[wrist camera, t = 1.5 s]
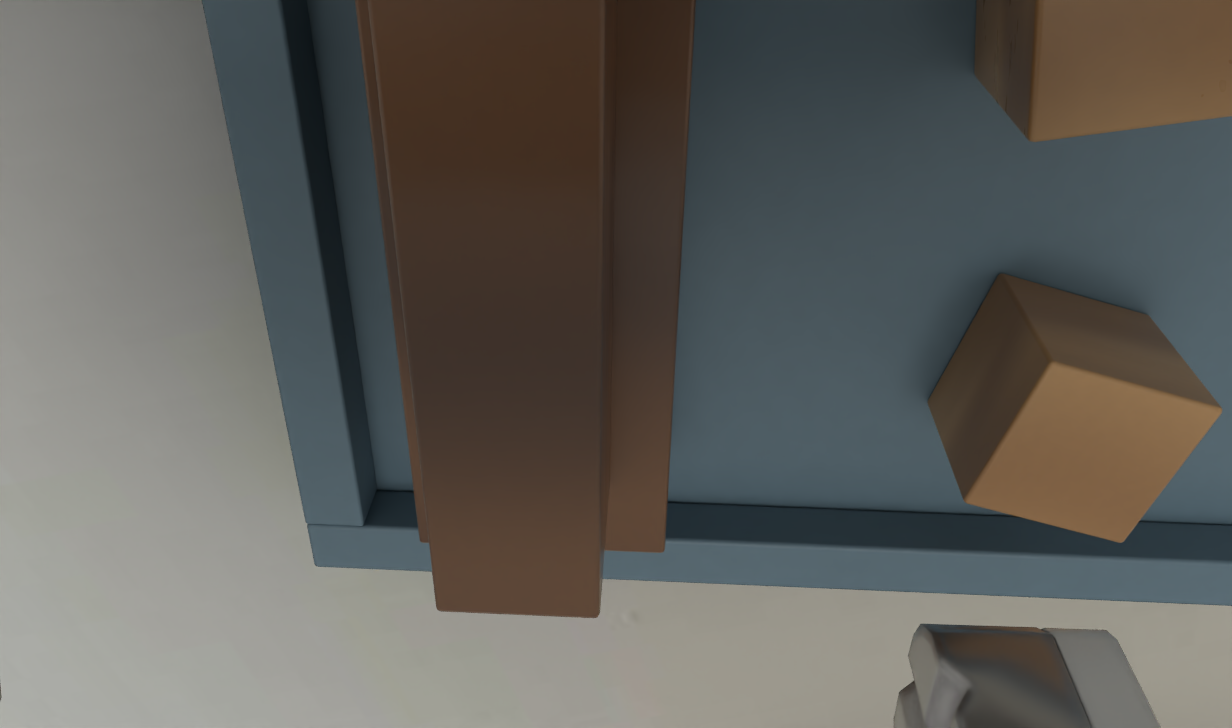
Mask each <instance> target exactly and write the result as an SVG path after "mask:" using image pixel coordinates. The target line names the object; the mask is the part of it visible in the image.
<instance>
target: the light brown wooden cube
mask: <svg viewBox="0 0 1232 728" xmlns="http://www.w3.org/2000/svg"><path fill="white" fill-rule="evenodd" d="M974 74H975V76H976V78H977V79H978V80H979V81H980V83H981V84H982V85H983V86H984V88H985V89H986V90H987V91H988V92H989V94H990V95H991V96H992V97H993V98H994V100H995V101H996V102H997V103H998V104H999V106H1000V107H1001V108H1002V109H1003V111H1004V112H1005V113H1006V114H1007V115H1008V117H1009V118H1010V119H1011V120H1012V121H1013V123H1014V124H1015V125H1016V126H1017V128H1018V129H1019V130H1020V131H1021V132H1022V134H1023V135H1024V136H1025V137H1026V138H1027V140H1028V141H1031V142H1039V141H1046V140H1054V139H1062V138H1069V137H1077V136H1085V135H1092V134H1100V133H1107V132H1115V131H1123V130H1130V129H1138V128H1146V127H1153V126H1161V125H1168V124H1176V123H1184V122H1191V121H1199V120H1207V119H1214V118H1222V117H1229V116H1232V0H977V2H976V36H975V70H974Z"/></svg>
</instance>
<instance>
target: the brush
mask: <svg viewBox="0 0 1232 728" xmlns="http://www.w3.org/2000/svg"><path fill="white" fill-rule="evenodd" d="M355 6H356V15H357V23H358V31H359V40H360V48H361V56H362V65H363V73H364V81H365V90H366V98H367V106H368V115H369V123H370V131H371V140H372V148H373V156H374V165H375V173H376V181H377V190H378V198H379V206H380V215H381V223H382V231H383V240H384V248H385V257H386V265H387V273H388V282H389V290H390V298H391V307H392V315H393V323H394V332H395V340H396V348H397V357H398V365H399V373H400V382H401V390H402V398H403V407H404V415H405V423H406V432H407V440H408V448H409V457H410V465H411V473H412V482H413V490H414V498H415V507H416V515H417V523H418V532H419V539H420V542H422V543H429V548H430V557H431V566H432V575H433V584H434V592H435V601H436V607H437V610H439V611H445V612H467V613H490V614H513V615H536V616H559V617H581V618H596V617H598V615H599V613H600V605H601V592H602V579H603V565H604V552H605V551H623V552H647V553H663V552H664V550H665V539H666V522H667V504H668V486H669V469H670V451H671V433H672V416H673V398H674V380H675V363H676V345H677V327H678V310H679V292H680V274H681V257H682V239H683V221H684V203H685V186H686V168H687V150H688V133H689V115H690V97H691V80H692V62H693V44H694V27H695V9H696V0H355Z"/></svg>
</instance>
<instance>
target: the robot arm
mask: <svg viewBox="0 0 1232 728" xmlns="http://www.w3.org/2000/svg"><path fill="white" fill-rule="evenodd" d="M908 657H909V661H910V665H911V669H912V673H913V678H914V681H913V682H912V683H910V684H909V685H908V686H906V687H905V688H904V689H902V690H901V691H900V692H899V696H898V701H897V706H896V711H895V716H894V728H1161V726H1160V724H1159V722H1158V720H1157V718H1156V716H1155V714H1154V712H1153V710H1152V708H1151V706H1150V704H1149V702H1148V700H1147V698H1146V696H1145V694H1144V692H1143V690H1142V688H1141V686H1140V684H1139V682H1138V680H1137V678H1136V676H1135V674H1134V672H1133V670H1132V668H1131V666H1130V664H1129V662H1128V660H1127V658H1126V656H1125V654H1124V652H1123V650H1122V648H1121V646H1120V644H1119V642H1118V640H1117V639H1116V638H1114V637H1113V636H1112V635H1111V634H1110V633H1109V632H1108V631H1107V630H1087V629H1058V628H1043V629H1038V628H1035V627H1003V626H972V625H940V624H920V626H919V627H918V629H917V630H916V632H915V633H914V635H913V639H912V643H911V646H910V650H909V654H908ZM0 700H1V685H0Z"/></svg>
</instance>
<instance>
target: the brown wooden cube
mask: <svg viewBox="0 0 1232 728" xmlns="http://www.w3.org/2000/svg"><path fill="white" fill-rule="evenodd" d="M928 406H929V409H930V412H931V415H932V417H933V420H934V423H935V425H936V428H937V431H938V433H939V436H940V439H941V442H942V444H943V447H944V450H945V452H946V455H947V458H948V460H949V463H950V466H951V469H952V471H953V474H954V477H955V479H956V482H957V485H958V487H959V490H960V493H961V496H962V498H963V501H964V502H965V503H967V504H970V505H974V506H978V507H982V508H986V509H990V510H994V511H998V512H1002V513H1005V514H1009V515H1013V516H1017V517H1021V518H1025V519H1029V520H1033V521H1037V522H1040V523H1044V524H1048V525H1052V526H1056V527H1060V528H1064V529H1068V530H1072V531H1075V532H1079V533H1083V534H1087V535H1091V536H1095V537H1099V538H1103V539H1107V540H1110V541H1114V542H1118V543H1122V542H1124V541H1125V539H1126V538H1127V537H1128V535H1129V534H1130V533H1131V532H1132V530H1133V529H1134V528H1135V526H1136V525H1137V524H1138V522H1139V521H1140V520H1141V518H1142V517H1143V516H1144V514H1145V513H1146V512H1147V511H1148V509H1149V508H1150V507H1151V505H1152V504H1153V503H1154V501H1155V500H1156V499H1157V497H1158V496H1159V495H1160V493H1161V492H1162V491H1163V490H1164V488H1165V487H1166V486H1167V484H1168V483H1169V482H1170V480H1171V479H1172V478H1173V476H1174V475H1175V474H1176V472H1177V471H1178V470H1179V469H1180V467H1181V466H1182V465H1183V463H1184V462H1185V461H1186V459H1187V458H1188V457H1189V455H1190V454H1191V453H1192V451H1193V450H1194V449H1195V448H1196V446H1197V445H1198V444H1199V442H1200V441H1201V440H1202V438H1203V437H1204V436H1205V434H1206V433H1207V432H1208V430H1209V429H1210V428H1211V427H1212V425H1213V424H1214V423H1215V421H1216V420H1217V419H1218V417H1219V416H1220V415H1221V413H1222V407H1221V406H1220V405H1219V404H1218V402H1217V401H1216V400H1215V399H1214V397H1213V396H1212V395H1211V393H1210V392H1209V391H1208V390H1207V388H1206V387H1205V386H1204V385H1203V383H1202V382H1201V381H1200V379H1199V378H1198V377H1197V376H1196V374H1195V373H1194V372H1193V371H1192V369H1191V368H1190V367H1189V365H1188V364H1187V363H1186V362H1185V360H1184V359H1183V358H1182V357H1181V355H1180V354H1179V353H1178V351H1177V350H1176V349H1175V348H1174V346H1173V345H1172V344H1171V343H1170V341H1169V340H1168V339H1167V337H1166V336H1165V335H1164V334H1163V332H1162V331H1161V330H1160V329H1159V327H1158V326H1157V325H1156V323H1155V322H1154V321H1153V320H1152V318H1151V317H1150V316H1149V315H1146V314H1142V313H1139V312H1135V311H1132V310H1128V309H1125V308H1121V307H1118V306H1114V305H1111V304H1107V303H1104V302H1100V301H1097V300H1093V299H1090V298H1086V297H1083V296H1079V295H1076V294H1072V293H1069V292H1066V291H1062V290H1059V289H1055V288H1052V287H1048V286H1045V285H1041V284H1038V283H1034V282H1031V281H1027V280H1024V279H1020V278H1017V277H1013V276H1010V275H1006V274H999V275H998V276H997V278H996V280H995V282H994V283H993V285H992V287H991V289H990V291H989V292H988V294H987V296H986V298H985V300H984V301H983V303H982V305H981V307H980V308H979V310H978V312H977V314H976V316H975V317H974V319H973V321H972V323H971V325H970V326H969V328H968V330H967V332H966V334H965V335H964V337H963V339H962V341H961V342H960V344H959V346H958V348H957V350H956V351H955V353H954V355H953V357H952V359H951V360H950V362H949V364H948V366H947V368H946V369H945V371H944V373H943V375H942V376H941V378H940V380H939V382H938V384H937V385H936V387H935V389H934V391H933V393H932V394H931V396H930V398H929V400H928Z"/></svg>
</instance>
